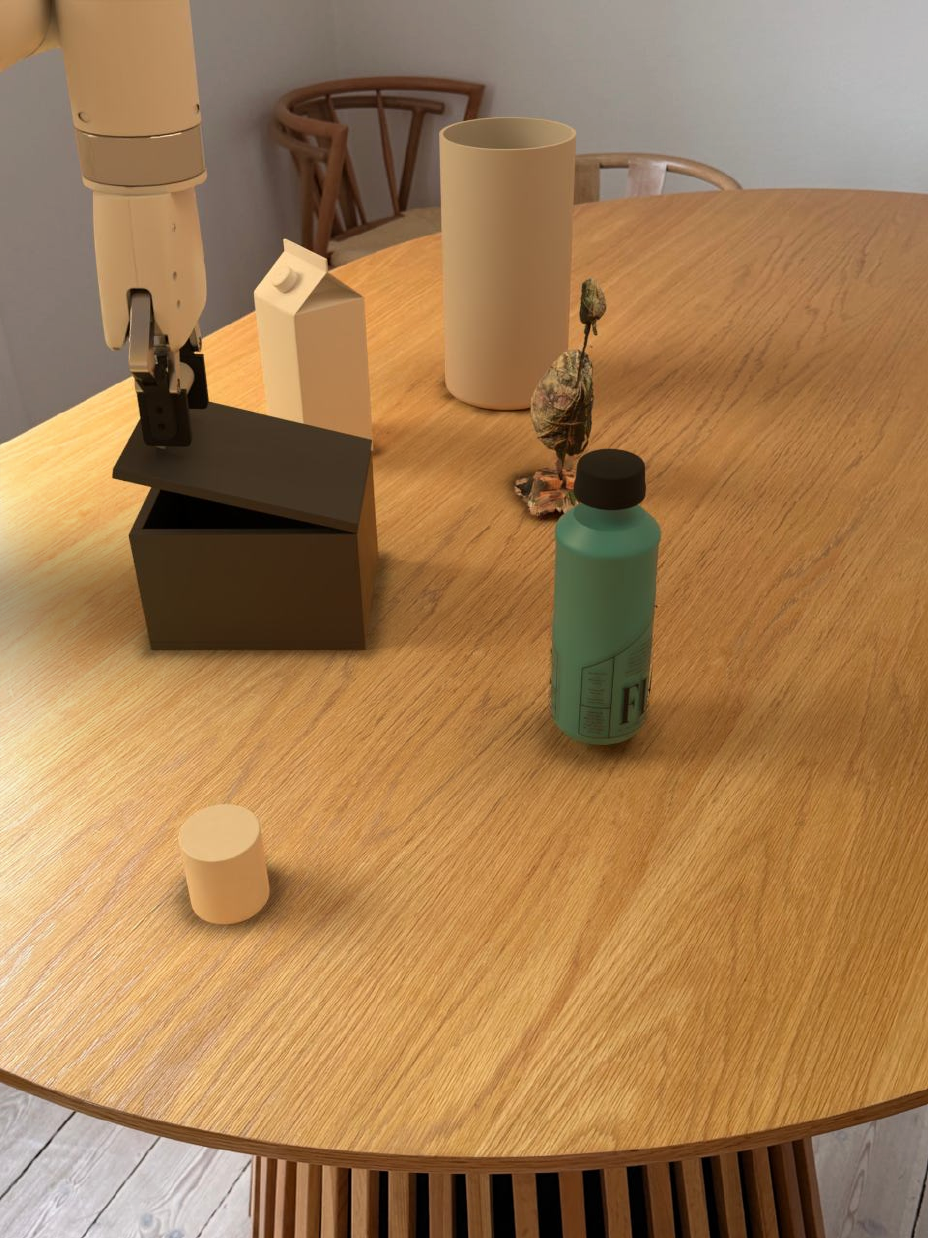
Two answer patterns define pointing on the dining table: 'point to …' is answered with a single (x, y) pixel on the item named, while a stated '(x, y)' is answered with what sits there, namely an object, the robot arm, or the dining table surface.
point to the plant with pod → (564, 415)
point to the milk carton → (313, 345)
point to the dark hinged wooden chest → (252, 576)
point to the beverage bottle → (604, 602)
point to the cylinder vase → (505, 255)
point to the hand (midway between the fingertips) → (177, 422)
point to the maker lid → (256, 464)
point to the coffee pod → (224, 863)
